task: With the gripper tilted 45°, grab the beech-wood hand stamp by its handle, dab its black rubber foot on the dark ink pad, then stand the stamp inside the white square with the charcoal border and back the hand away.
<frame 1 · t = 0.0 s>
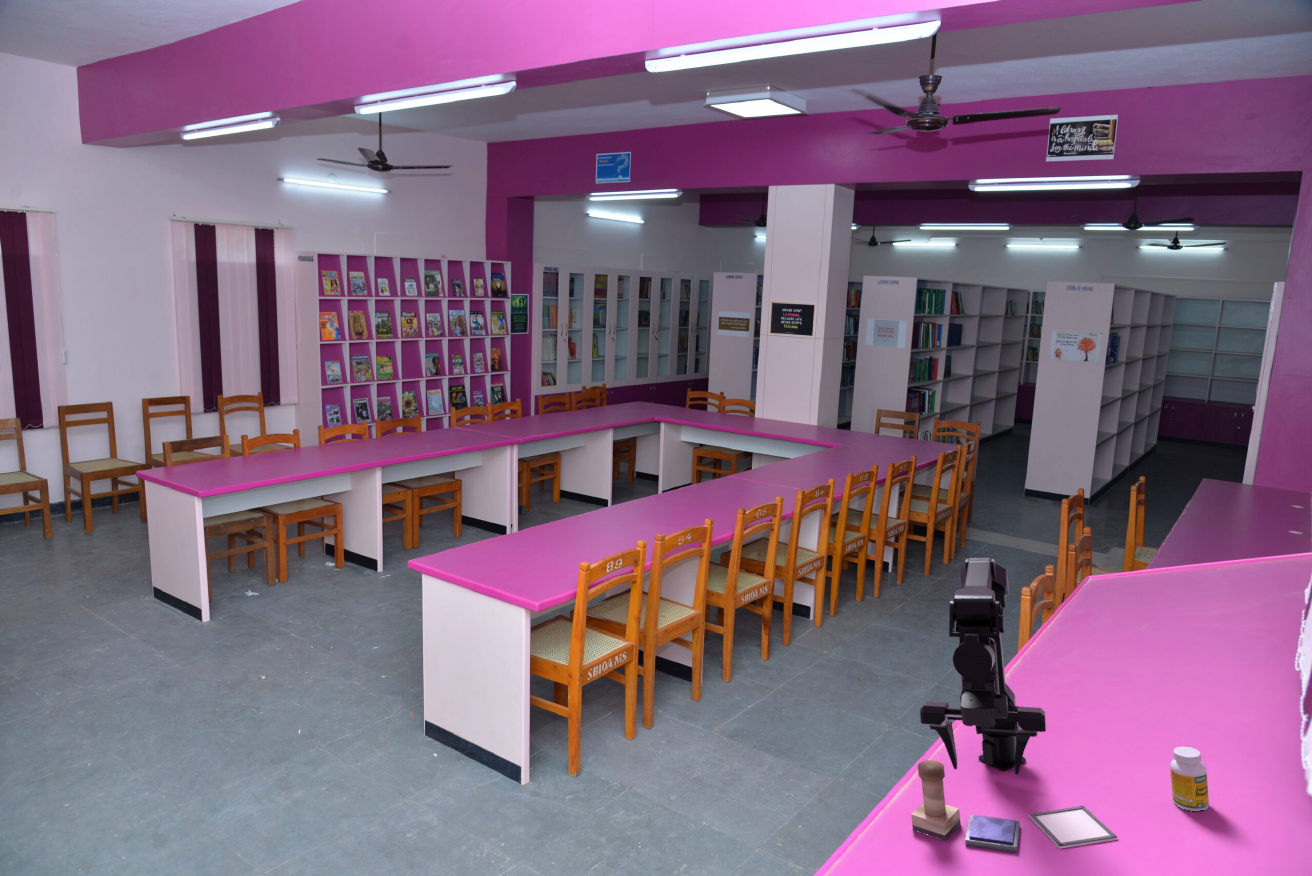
hand: (985, 771, 134), 15 cm above the table, tool pointing down, fingers open, 9 cm apart
stamp: (936, 827, 147), on the table
marked square: (1072, 827, 142), on the table
ink pad: (993, 835, 143), on the table
supplement bottle: (1190, 805, 145), on the table
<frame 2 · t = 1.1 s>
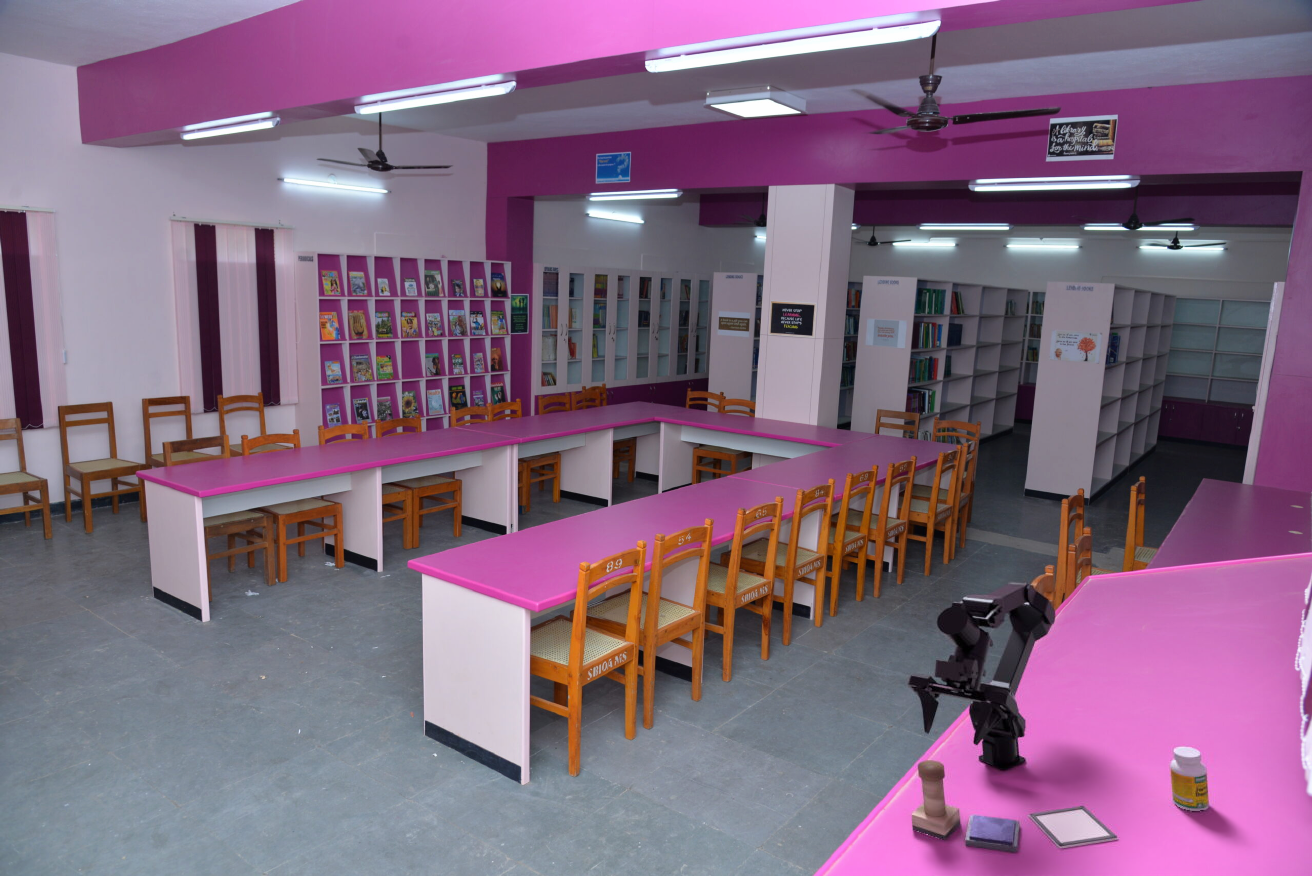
hand: (950, 738, 151), 13 cm above the table, tool tilted 45°, fingers open, 9 cm apart
nothing on the table moved.
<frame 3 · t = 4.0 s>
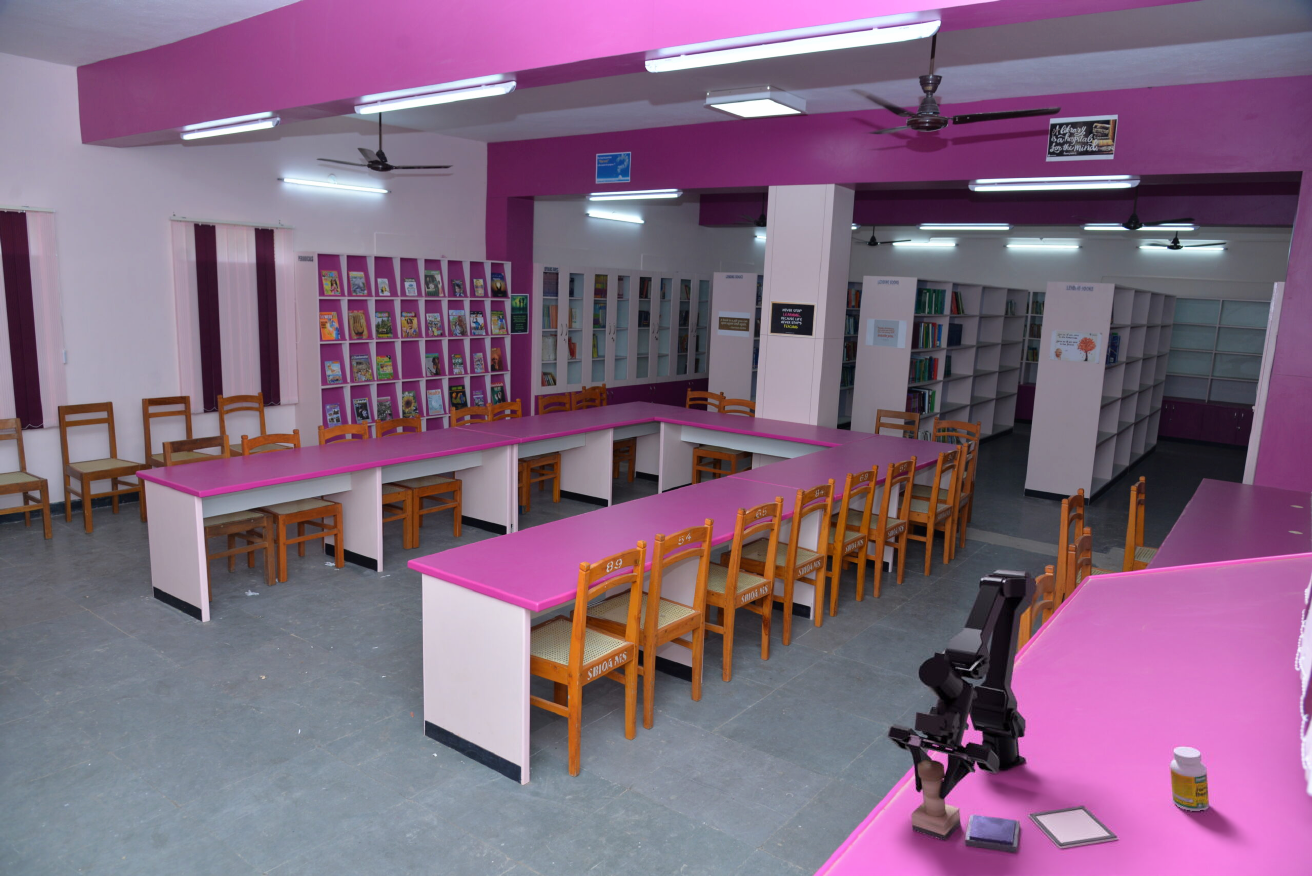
hand: (929, 795, 145), 7 cm above the table, tool tilted 45°, fingers closed on stamp, 4 cm apart
stamp: (936, 827, 147), on the table, touching gripper
everything else where it was.
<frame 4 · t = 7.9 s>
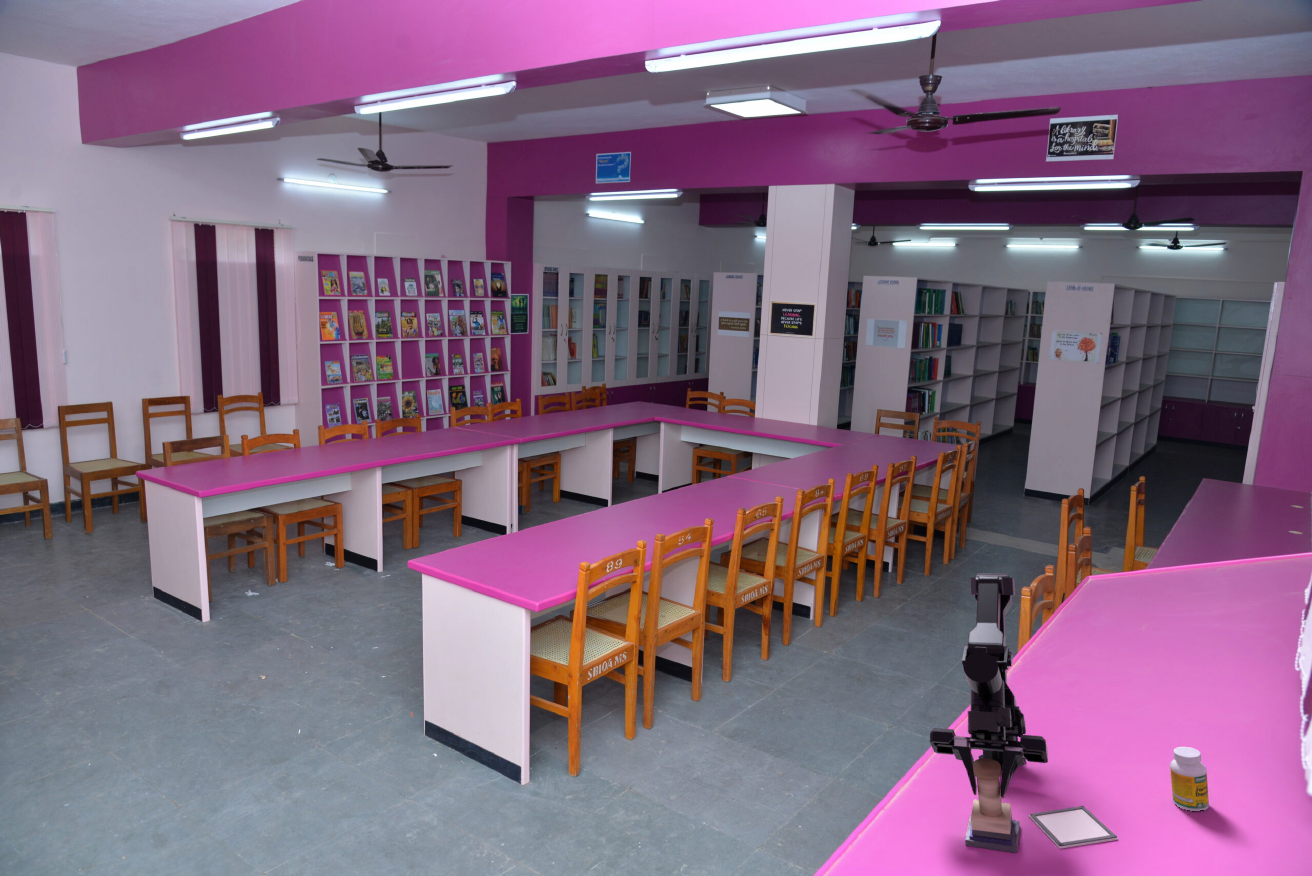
hand: (988, 795, 141), 8 cm above the table, tool tilted 45°, fingers closed on stamp, 4 cm apart
stamp: (992, 827, 143), point 1 cm above the table, touching gripper, ink pad
everything else where it was.
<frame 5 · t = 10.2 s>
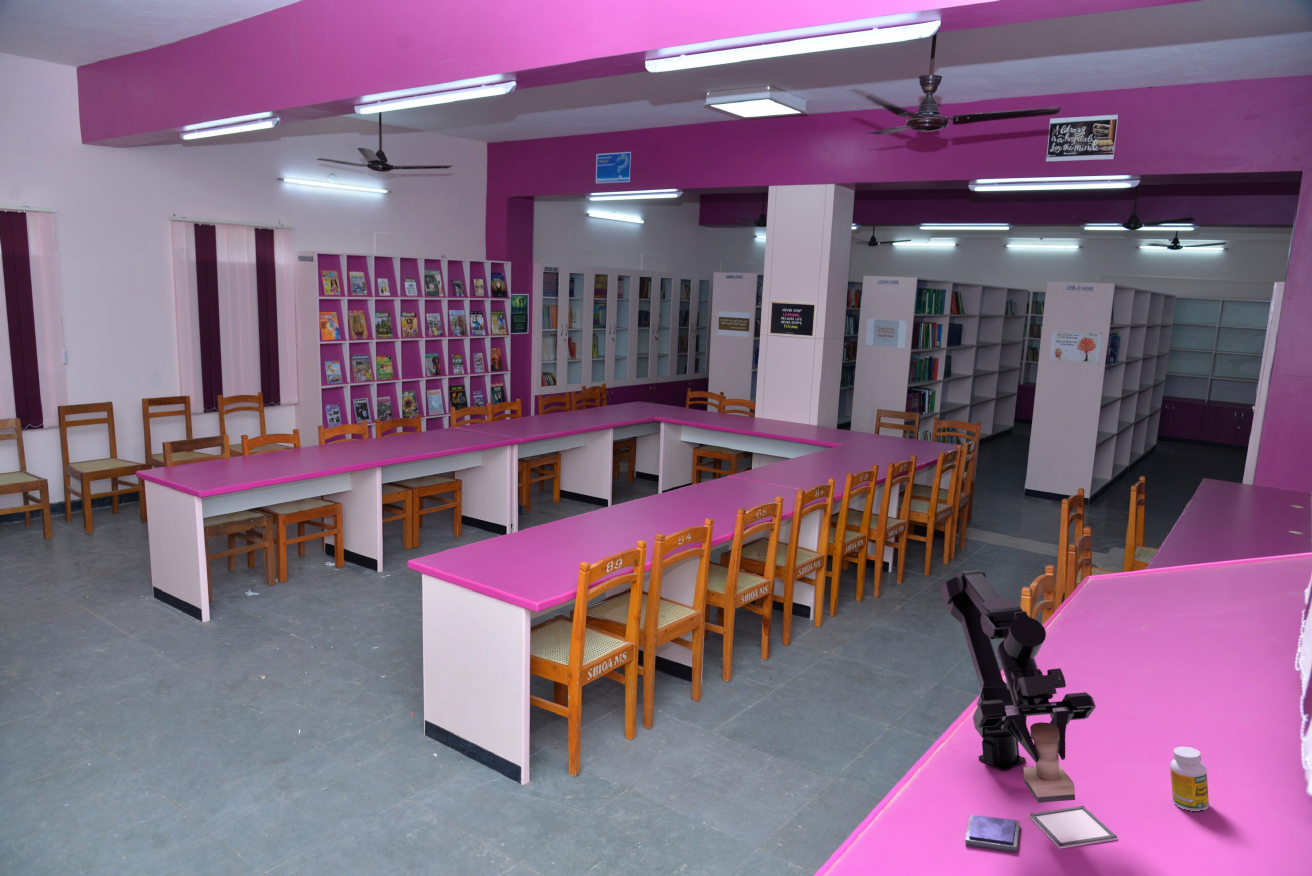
hand: (1050, 760, 139), 13 cm above the table, tool tilted 45°, fingers closed on stamp, 4 cm apart
stamp: (1049, 791, 141), point 7 cm above the table, touching gripper
everything else where it was.
when the fingers open (8 cm above the table, at t = 12.1 s): stamp drops 2 cm, resting on marked square.
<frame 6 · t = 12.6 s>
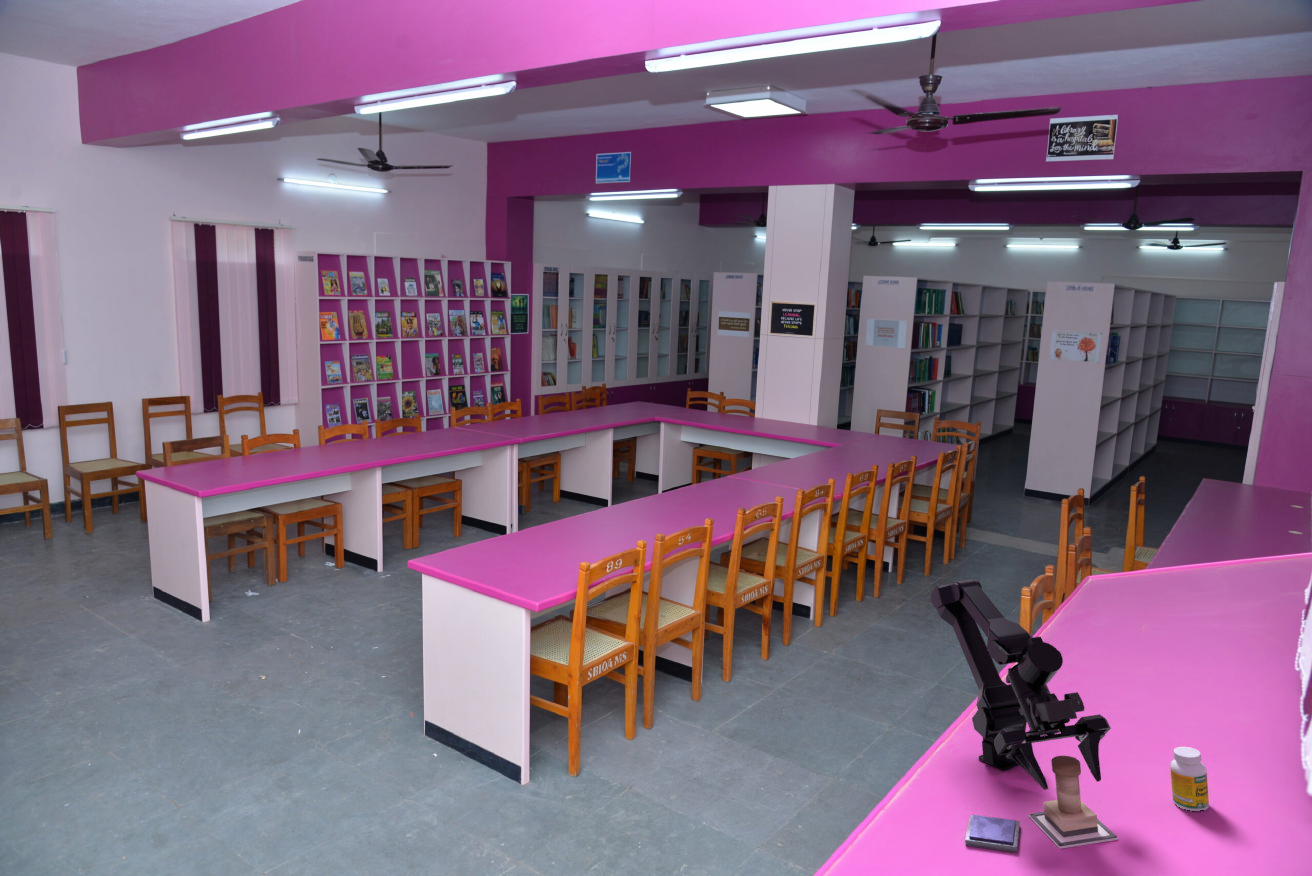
hand: (1072, 784, 140), 8 cm above the table, tool tilted 45°, fingers open, 9 cm apart
stamp: (1070, 825, 142), resting on marked square
everything else where it was.
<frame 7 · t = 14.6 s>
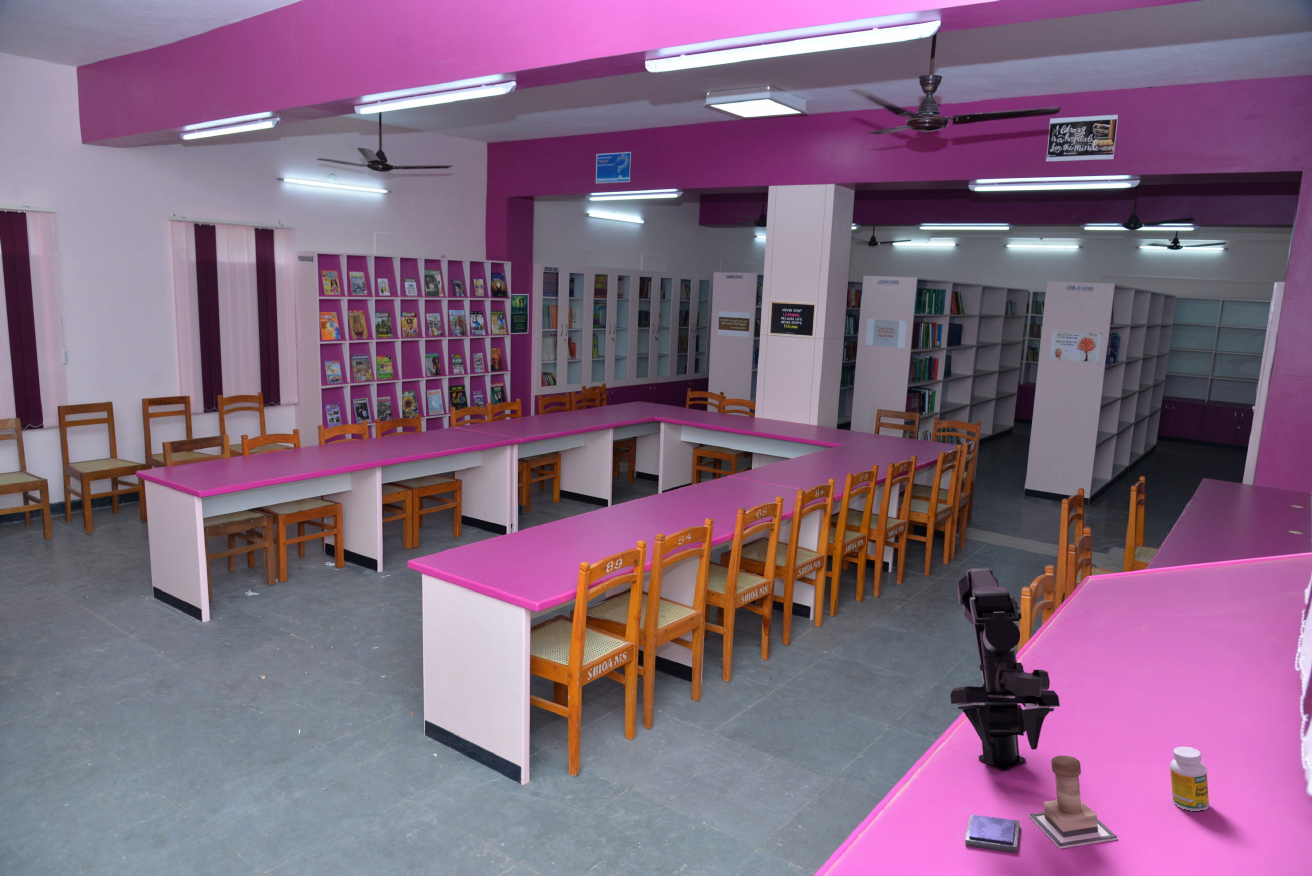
hand: (1011, 748, 147), 12 cm above the table, tool tilted 30°, fingers open, 9 cm apart
nothing on the table moved.
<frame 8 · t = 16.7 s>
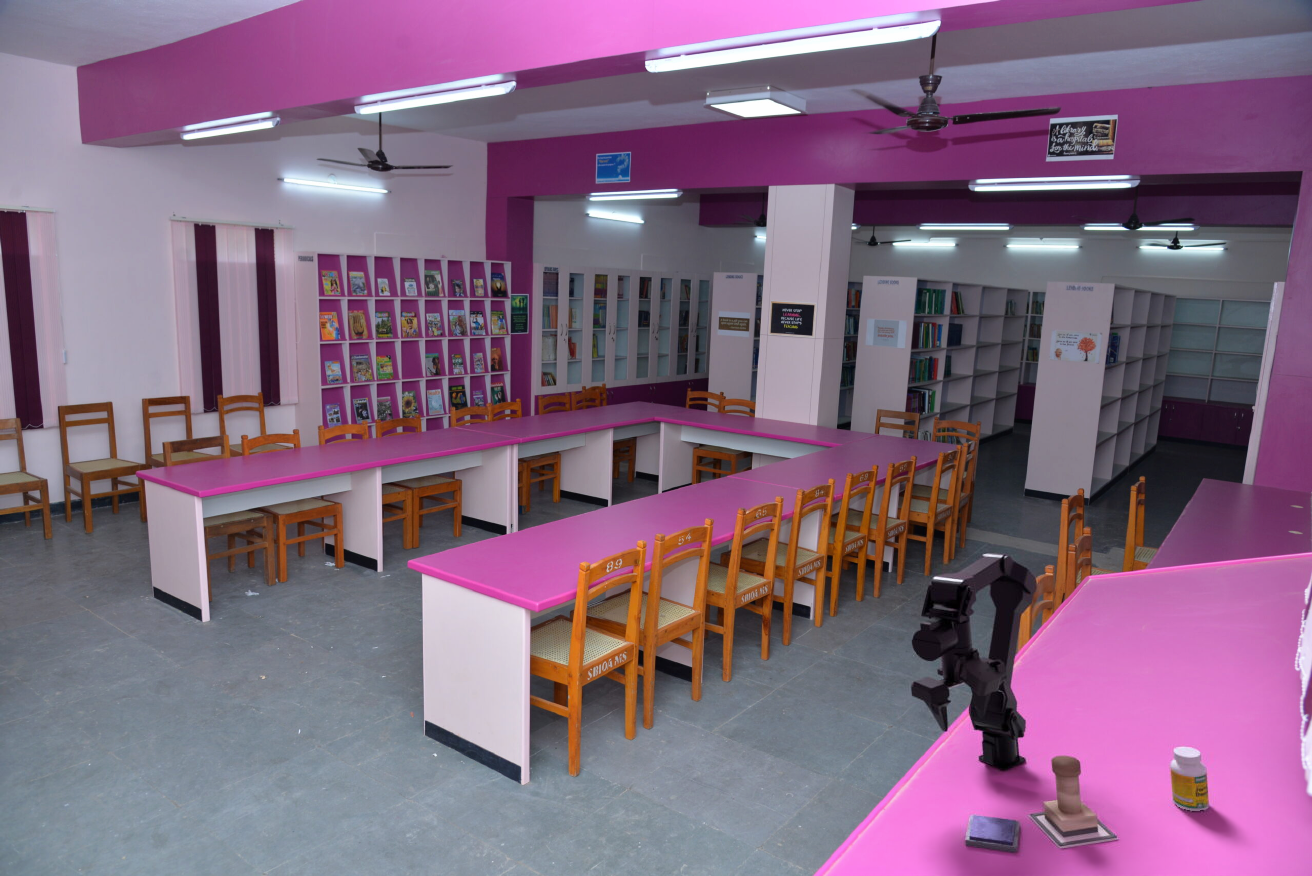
hand: (963, 723, 157), 13 cm above the table, tool pointing down, fingers open, 9 cm apart
nothing on the table moved.
at the end: stamp 0.3 cm off-centre on the marked square, point 0.3 cm above the marked square's base; stamp tilted 0°; the gripper is holding nothing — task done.
